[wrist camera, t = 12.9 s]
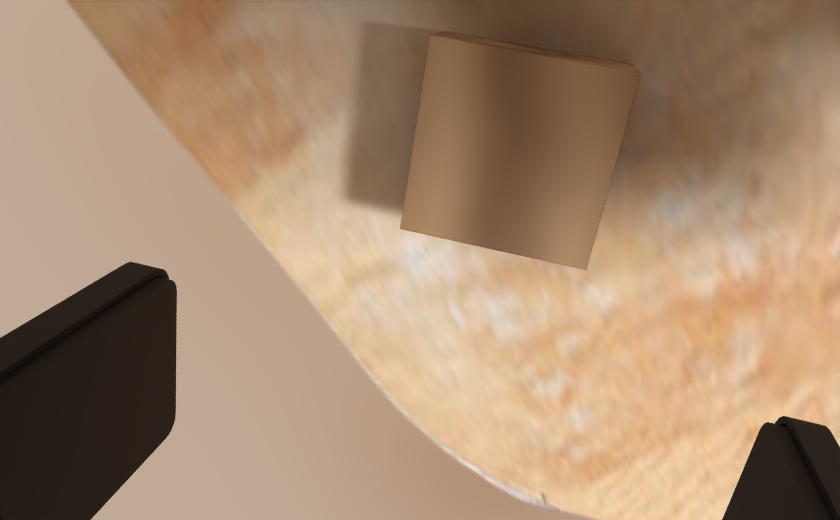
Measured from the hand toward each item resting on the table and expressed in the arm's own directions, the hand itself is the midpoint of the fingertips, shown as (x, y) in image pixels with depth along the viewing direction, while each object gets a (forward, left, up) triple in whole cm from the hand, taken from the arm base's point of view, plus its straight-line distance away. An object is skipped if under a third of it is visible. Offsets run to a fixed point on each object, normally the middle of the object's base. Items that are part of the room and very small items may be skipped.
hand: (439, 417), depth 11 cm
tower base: (0, +1, -25) cm, 25 cm away
